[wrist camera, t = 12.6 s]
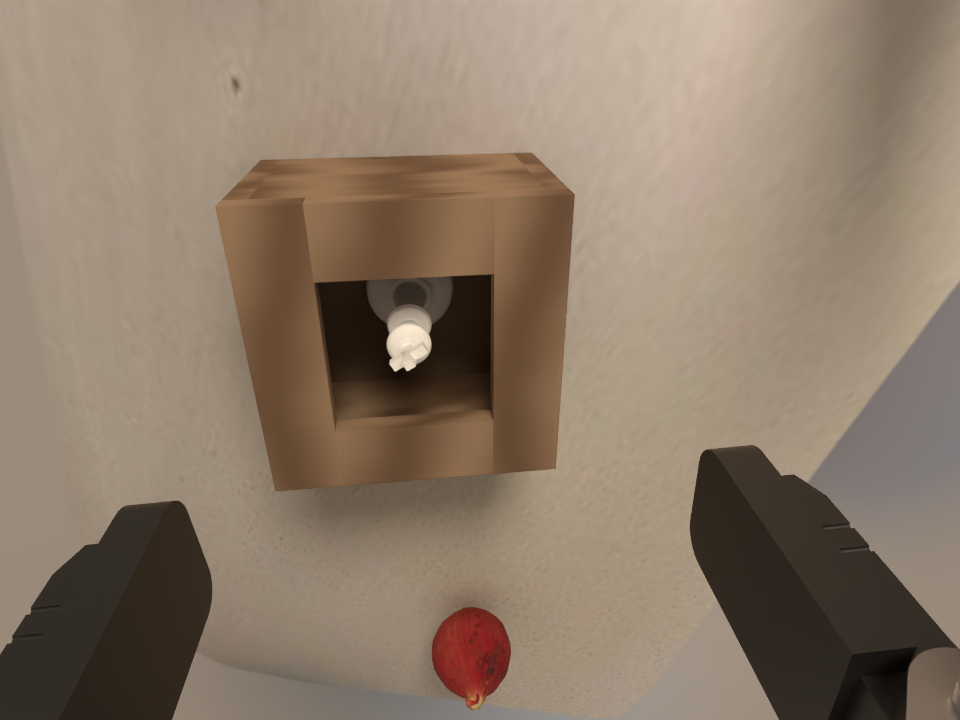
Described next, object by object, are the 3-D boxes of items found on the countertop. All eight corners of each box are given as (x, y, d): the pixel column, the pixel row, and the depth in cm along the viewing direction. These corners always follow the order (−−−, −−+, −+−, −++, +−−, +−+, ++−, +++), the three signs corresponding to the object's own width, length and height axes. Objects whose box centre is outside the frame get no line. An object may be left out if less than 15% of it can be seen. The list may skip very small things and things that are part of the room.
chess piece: (469, 300, 36) (488, 381, 27) (396, 341, 36) (391, 433, 27) (424, 227, 34) (427, 288, 25) (348, 272, 34) (325, 348, 25)
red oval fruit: (467, 573, 47) (480, 668, 40) (517, 605, 50) (536, 700, 43) (415, 613, 49) (418, 712, 42) (465, 643, 51) (476, 741, 44)
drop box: (532, 152, 33) (574, 194, 25) (524, 380, 40) (555, 468, 32) (260, 160, 31) (215, 206, 24) (300, 394, 38) (275, 491, 30)
